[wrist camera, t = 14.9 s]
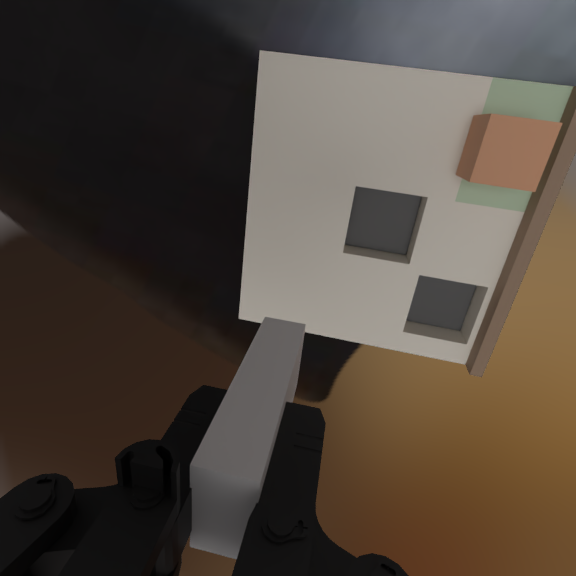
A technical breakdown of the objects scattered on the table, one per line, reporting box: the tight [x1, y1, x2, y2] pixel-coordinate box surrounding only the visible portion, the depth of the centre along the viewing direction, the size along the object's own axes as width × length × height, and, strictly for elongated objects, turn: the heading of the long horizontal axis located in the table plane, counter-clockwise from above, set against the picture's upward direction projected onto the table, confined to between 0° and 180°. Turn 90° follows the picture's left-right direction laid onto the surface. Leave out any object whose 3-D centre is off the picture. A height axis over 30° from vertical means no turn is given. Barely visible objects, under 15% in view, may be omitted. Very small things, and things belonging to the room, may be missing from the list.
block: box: [456, 113, 562, 192], centre depth 25 cm, size 4×4×4 cm
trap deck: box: [239, 50, 576, 377], centre depth 30 cm, size 22×22×4 cm
